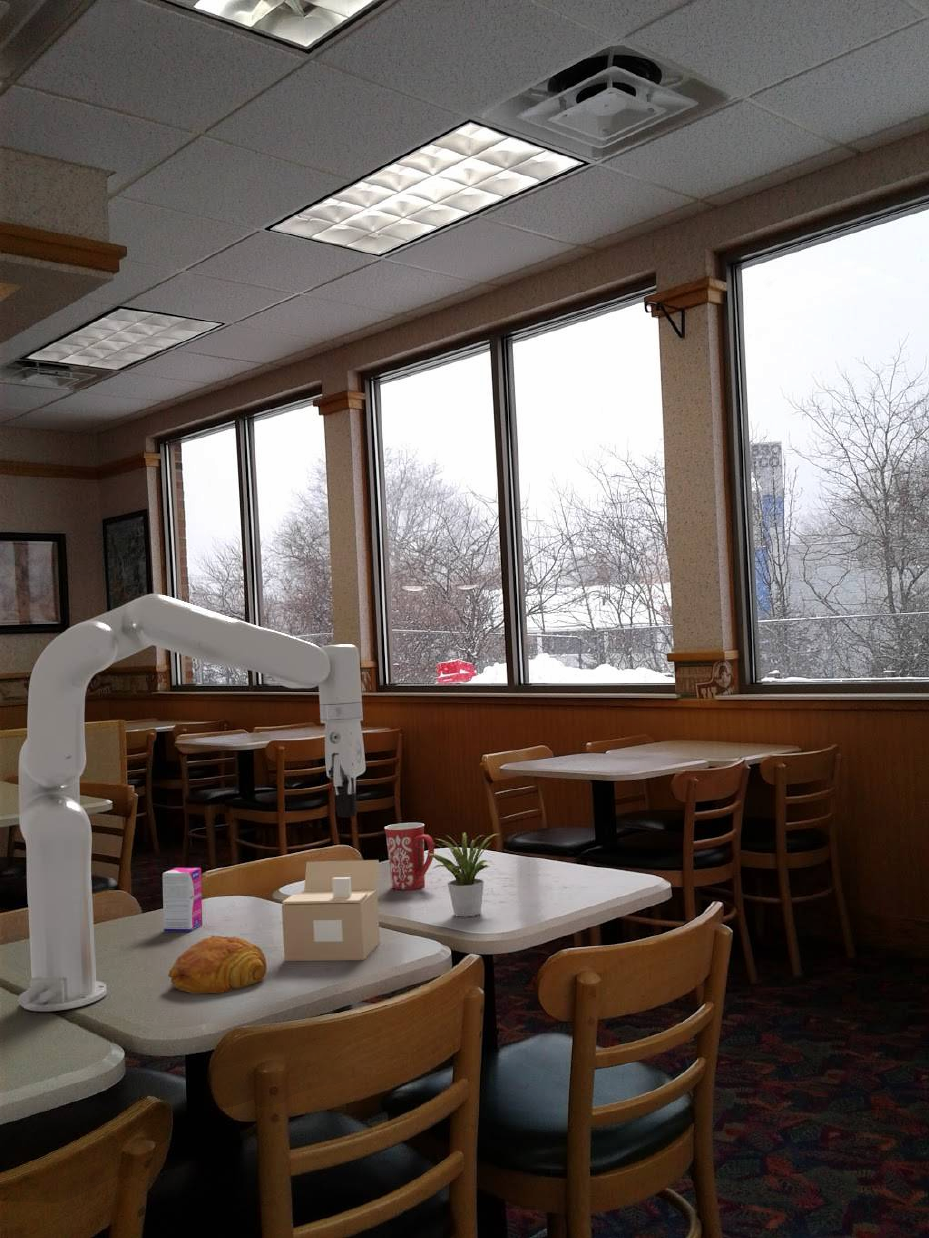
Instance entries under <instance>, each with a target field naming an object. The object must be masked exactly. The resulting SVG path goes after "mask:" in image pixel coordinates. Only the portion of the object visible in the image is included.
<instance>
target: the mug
mask: <svg viewBox="0 0 929 1238" xmlns="http://www.w3.org/2000/svg"><path fill="white" fill-rule="evenodd" d="M383 830H384V832H385V838H386V846H387V853H388V854H387V855H388V863H389V871H390V881H391V888H392V889H393V888H395V889H394V890H397V889H401V890H400V891H402V889H403V890H404V889H405V890H404V891H406V890H415V889H420V888H423V887H425V885H426V884H425V883H426V881H425V880H426V879H425V875H426V873H428V872H427V871H428V870H429V868H430V866H431V864H432V861H433V859H434V857H432V856H429V855H428V854H427V857H426V859H425V842H426V844H427V849H428V850H427V853H429V854H435V843H434V840H433V837H431V836H430V835H429V834H425V824H424V823H421V822H403V823H394V824H389V825H387V826H384V827H383ZM433 843H434V844H433Z"/></svg>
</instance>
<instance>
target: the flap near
mask: <svg viewBox="0 0 929 1238" xmlns="http://www.w3.org/2000/svg"><path fill="white" fill-rule="evenodd" d="M332 885H333V894H315V895H297V894H291V895H290V896H288V897H287V898H286V899H284V900H283V901H282V904H281V905H283V904H315V903H359V902H361V901H362V900H363V899H364V898H365V897H366V896H367V893H363V894H351V877H340V878H333V879H332Z"/></svg>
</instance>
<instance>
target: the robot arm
mask: <svg viewBox="0 0 929 1238" xmlns="http://www.w3.org/2000/svg"><path fill="white" fill-rule="evenodd" d="M151 646H155V647H158V648H161V649H165V650H167V651H170V652H174V653H177V654H180V655H183V656H186V657H189V658H192V659H195V660H198V661H201V662H203V663H207V664H210V665H214V666H218V667H222V668H228V669H240V670H245V671H246V670H247V671H251V672H255V673H260V674H264V675H266V676H267V675H268V676H271V677H273V678H274V680H275V681H276V682H277V683H278V684H280V685H281V686H283V687H285V688H288V689H312V688H316V687H318V695H319V713H320V715H319V718H320V724H324V762H325V770H326V771H325V772H326V776H327V778H329V779H331V780H332V779H333V786H334V787H335V788H334V789H335V801H336V816H337V818H353V817H355V816H357V813H358V811H357V793H356V790H357V787H356V785H357V783H356V781H357V777H358V776H361V775H363V774H364V773H365V771H366V769H367V768H366V757H365V747H364V745H365V744H364V736H363V731H362V730H363V729H362V726H361V725H362V724H361V722H362V721H363V720H364V717H363V713H364V712H363V699H362V680H361V662H360V652H359V649H358V647H357V646H356V645H354V644H346V643H345V644H343V643H342V644H331V645H328V644H327V645H323V646H321V647H320V646H318V645H316V644H314V643H311V642H309V641H306V640H303V639H300V638H297V637H294V636H292V635H288V634H285V633H282V632H279V631H276V630H272V629H268V628H266V627H261V626H257V625H256V624H252V623H249V622H246V621H243V620H239V619H235V618H232V617H230V616H226V615H223V614H221V613H218V612H214V611H211V610H208V609H205V608H203V607H201V606H197V605H195V604H191V603H188V602H186V601H183V600H179V599H177V598H174V597H171V596H167V595H164V594H160V593H159V594H158V593H149V594H145V595H142V596H140V597H137V598H135V599H134V600H131V601H129V602H127V603H124V604H123V605H121V606H119V607H117V608H113V609H112V610H109V611H107V612H105V613H102V614H100V615H97V616H95V617H93V618H91V619H87V620H84V621H81V622H79V623H77V624H75V625H72V626H71V627H69V628H67V629H66V630H65V631H63V632H62V633H61V634H59V635H58V636H56V637H55V638H54V639H53V640H52V641H50V643H49V644H48V645H47V646H46V647H45V648H44V650H43V651H42V652H41V653H40V655H39V657H38V658H37V660H36V662H35V664H34V666H33V669H32V672H31V674H30V679H29V684H28V685H29V686H28V697H27V698H28V699H27V701H28V702H27V720H26V721H27V734H26V735H27V737H26V739H25V740H24V743H23V744H22V746H21V748H20V751H19V757H18V811H19V812H18V814H19V815H18V816H19V829H20V833H21V834H22V837H23V839H24V840H25V846H26V847H25V848H26V889H27V890H26V891H27V905H28V909H27V910H28V925H29V926H28V929H29V930H28V931H29V946H30V947H29V949H30V953H29V954H30V972H31V973H30V974H31V979H30V980H29V988H28V990H25V991H23V992H22V993H20V994H19V995H18V996H17V1003H18V1005H19V1006H21V1007H22V1008H23V1009H25V1010H28V1011H31V1012H40V1013H41V1012H42V1013H43V1012H45V1013H46V1012H57V1011H65V1010H71V1009H77V1008H81V1007H84V1006H87V1005H90V1004H92V1003H95V1002H97V1001H100V1000H101V999H103V998H104V997H105V996H106V995H107V993H108V989H107V987H108V986H107V985H106V983H104V982H103V981H98V980H97V976H96V975H97V972H96V968H97V967H96V949H95V930H94V929H95V928H94V927H95V926H94V908H93V905H94V904H93V891H92V848H93V847H92V844H93V838H92V837H93V835H92V833H93V832H92V825H91V821H90V818H89V816H88V813H87V811H86V810H85V809H84V808H83V806H82V805H80V799H81V796H80V795H81V794H80V777H81V776H82V775H83V773H84V771H85V768H86V764H87V751H86V737H85V733H86V732H85V731H86V729H85V708H86V707H85V706H86V703H85V702H86V694H87V688H88V687H89V683H90V682H91V679H92V678H93V677H94V675H96V674H98V673H100V672H103V671H104V670H106V669H108V668H109V667H110V666H112V665H113V664H114V663H116V662H119V661H122V660H125V659H126V658H129V657H131V656H132V655H134V654H137V653H140V652H142V651H143V650H145V649H147V648H149V647H151Z"/></svg>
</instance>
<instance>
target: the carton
mask: <svg viewBox="0 0 929 1238" xmlns="http://www.w3.org/2000/svg"><path fill="white" fill-rule="evenodd" d="M363 893H367V896H366V897H365V898H364V899H363V900H362V901H361V902H359V903H315V904H281V916H282V917H281V918H282V933H283V934H282V935H283V953H284V962H296V961H298V962H299V961H302V962H303V961H305V962H309V961H314V962H315V961H365V960H366V958H367V957H368V956H370V954H371V953H372V952H373V951H374V949H375V948H376V947H377V946H378V945H380V943H381V939H380V937H381V936H380V923H379V922H380V920H379V903H378V901H379V900H378V888H377V889H358V890H351V894H363ZM315 894H333V890H311V891H305V890H301V891H300V892H298V893H297V894H296V895H315Z"/></svg>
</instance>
